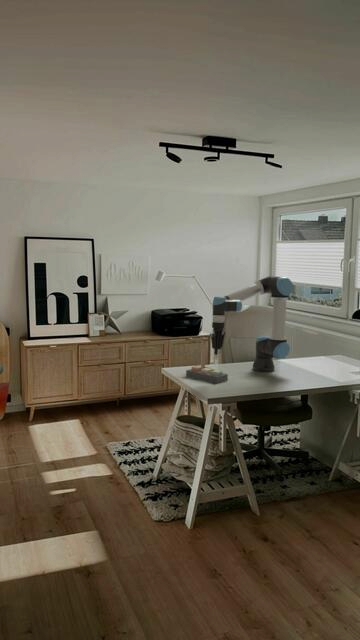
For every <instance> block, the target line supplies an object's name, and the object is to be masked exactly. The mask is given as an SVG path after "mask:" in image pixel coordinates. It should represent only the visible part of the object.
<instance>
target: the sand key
mask: <svg viewBox="0 0 360 640" xmlns="http://www.w3.org/2000/svg"><path fill="white" fill-rule="evenodd" d="M209 368H210V367H208V368H204V369H201V372H202V373H206V374H209V373H211V371H212V369H213V368H211V369H209Z"/></svg>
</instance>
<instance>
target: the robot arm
mask: <svg viewBox="0 0 360 640" xmlns="http://www.w3.org/2000/svg"><path fill="white" fill-rule="evenodd" d="M293 291H294V283H293V282H292V280H291V279H290V278H288V277H285V276H275V275H270V276H266V277H263V278H261V279H259V280H256V281H254V283H253V284H251V285H249V286H245V287H243V288H241V289H239V290H236V291H234V292H231V293H229V294H227V295H224V296H214V297H213V300H212V322H211V323H212V324H211V328H212V329H213V330H212V333H209V336H210V340H211V348H212V349H213V353H214V355H213V357H214V360H216V361H219V360H220V353H221V350H222V348H223V345H224V340H225V337H226V332H225V331H224V329H225V320H226V319H225V318H226V313H237V312H241V311H242V309H243V302H245V301H246V300H248V299H251V298H254V297H256V296H258V295H260V296H261V295H265V294H270V298H271V299H272V319H271V320H272V321H271V335H269V336H268V335H267V336H265V335H264V336H258V337H256V341H255V358H254V361H253V364H252V370H254V371H257V372H264V373H265V372H268V373H269V372H274V371H275V370H276V369H275V368H276V367H275V364H274V360H273V359H277V360H284V359H285V358H287V356H289V354H290V351H291V346H290V344H289V343H288V342H287V340H288V338H287V337H286V336H285V334H286V315H287V301H288V299H289V298H290V295H291V294H292V292H293Z"/></svg>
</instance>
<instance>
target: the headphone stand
mask: <svg viewBox="0 0 360 640" xmlns="http://www.w3.org/2000/svg"><path fill="white" fill-rule="evenodd" d="M200 340H201V350H200V351H201V352H200V353H201V354H200V356H201V357H200V367H203V369H204V368H209V369H212V371H214V370H215V369H214V368H211V367H208V366H206V342H209V341H210V340H209V338H207V337H201V339H200Z"/></svg>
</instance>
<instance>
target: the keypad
mask: <svg viewBox="0 0 360 640" xmlns="http://www.w3.org/2000/svg"><path fill="white" fill-rule="evenodd" d="M228 376H229V375H228V373H223V372H222V375H219V376H215V375H211V373H209V374H206V373H202V372H201V371H198V372H197V371H193V370H192V368H190V369H186V370H185V377H188V378H192V379H196V380H201V381H205V382H208V383H213V384H219V383H223V382H227V381H229V380H228V379H229V377H228Z"/></svg>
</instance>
